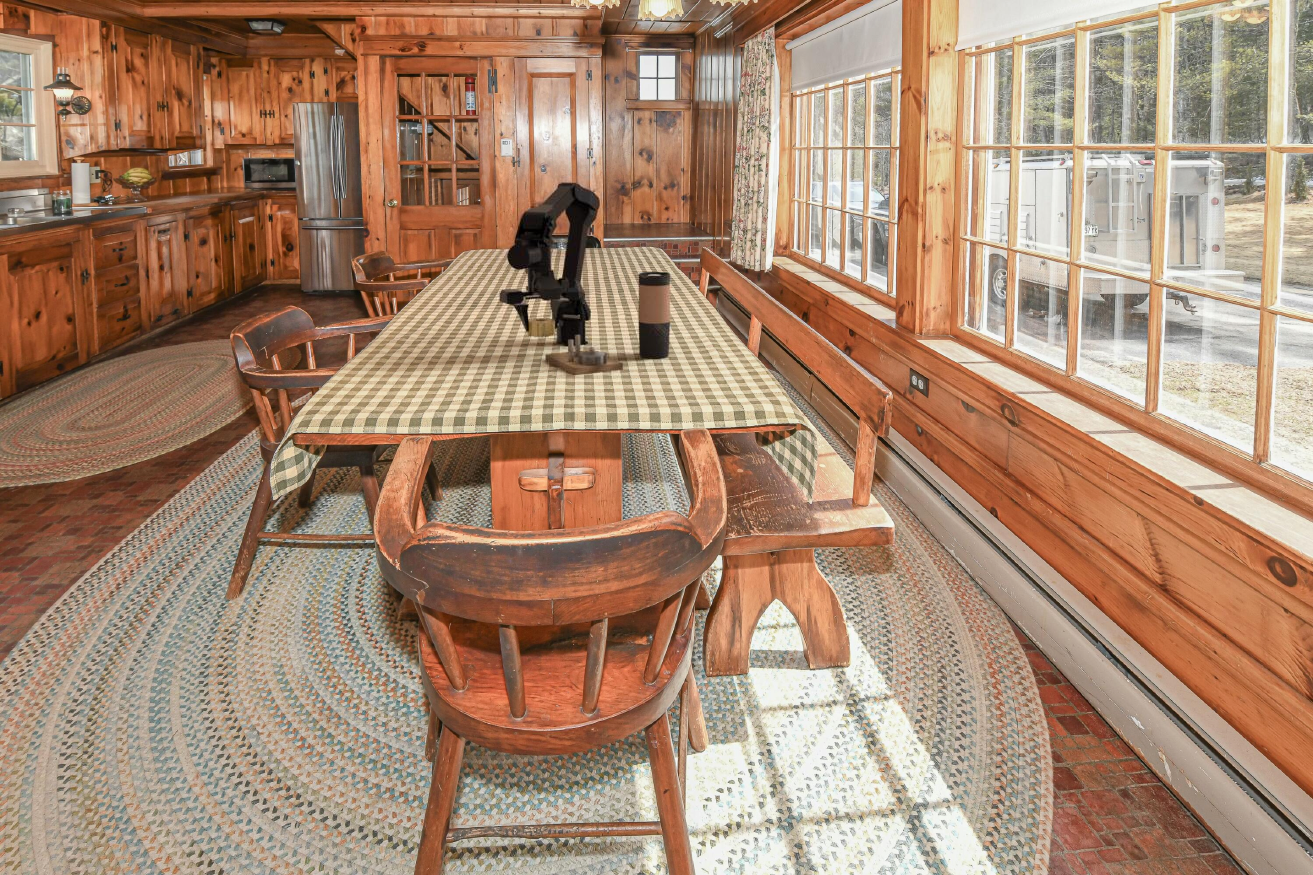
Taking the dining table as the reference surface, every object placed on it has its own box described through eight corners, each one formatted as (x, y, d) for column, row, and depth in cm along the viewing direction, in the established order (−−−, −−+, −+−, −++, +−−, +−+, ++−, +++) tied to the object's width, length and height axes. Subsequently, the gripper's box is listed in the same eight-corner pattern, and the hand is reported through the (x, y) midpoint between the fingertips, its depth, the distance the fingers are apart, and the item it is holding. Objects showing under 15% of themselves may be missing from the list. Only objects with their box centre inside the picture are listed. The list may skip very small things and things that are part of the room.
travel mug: (669, 352, 238) (669, 271, 232) (670, 359, 231) (671, 275, 225) (638, 352, 238) (638, 271, 232) (638, 359, 230) (638, 275, 225)
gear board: (590, 355, 234) (590, 329, 232) (622, 369, 220) (622, 341, 218) (545, 360, 228) (544, 333, 227) (575, 375, 214) (574, 346, 212)
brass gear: (548, 331, 237) (548, 317, 235) (559, 335, 231) (559, 321, 230) (522, 333, 233) (522, 319, 232) (533, 338, 228) (533, 323, 227)
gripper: (514, 271, 216) (517, 339, 221) (589, 266, 225) (590, 332, 229) (497, 266, 225) (500, 331, 230) (569, 262, 234) (571, 325, 239)
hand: (541, 330), depth 232 cm, fingers closed on brass gear, 7 cm apart
